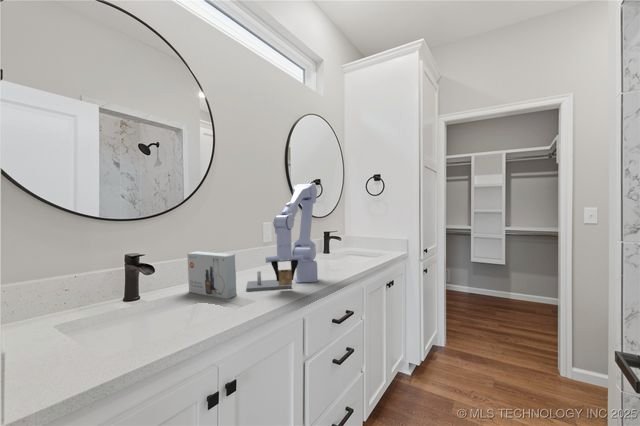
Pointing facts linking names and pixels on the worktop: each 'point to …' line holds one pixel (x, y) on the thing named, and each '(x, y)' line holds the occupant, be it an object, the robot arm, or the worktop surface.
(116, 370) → the worktop surface
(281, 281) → the oak bead
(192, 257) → the skincare box
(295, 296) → the worktop surface
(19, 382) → the worktop surface
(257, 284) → the grey flat block
